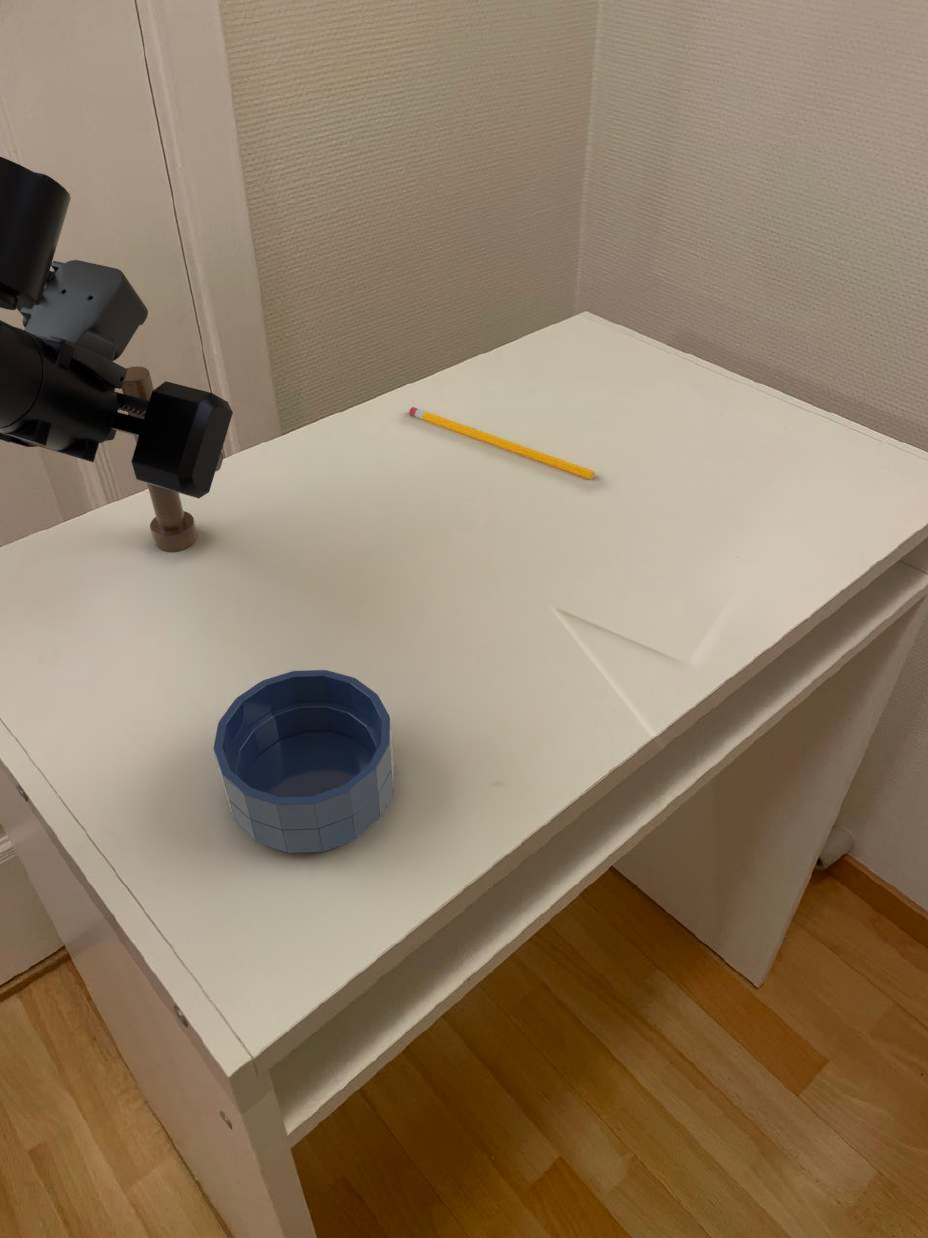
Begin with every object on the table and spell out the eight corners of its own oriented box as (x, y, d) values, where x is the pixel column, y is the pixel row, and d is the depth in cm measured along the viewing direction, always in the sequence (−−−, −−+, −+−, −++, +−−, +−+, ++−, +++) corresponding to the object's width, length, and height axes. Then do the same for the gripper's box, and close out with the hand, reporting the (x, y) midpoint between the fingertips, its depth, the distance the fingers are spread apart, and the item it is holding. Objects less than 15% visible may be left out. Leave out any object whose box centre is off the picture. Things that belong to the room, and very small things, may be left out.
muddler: (159, 556, 70) (113, 389, 60) (150, 532, 72) (104, 367, 62) (202, 545, 71) (163, 379, 61) (192, 521, 73) (153, 357, 63)
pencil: (414, 412, 85) (413, 405, 84) (594, 476, 78) (595, 469, 77) (408, 416, 84) (408, 409, 84) (589, 481, 77) (590, 474, 77)
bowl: (256, 884, 50) (241, 830, 46) (211, 757, 56) (196, 700, 53) (419, 822, 53) (416, 766, 49) (360, 707, 59) (354, 651, 56)
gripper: (181, 266, 49) (312, 364, 64) (-84, 211, 55) (93, 313, 70) (120, 470, 49) (265, 521, 64) (-138, 395, 55) (50, 458, 70)
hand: (166, 446), depth 67 cm, fingers open, 9 cm apart
